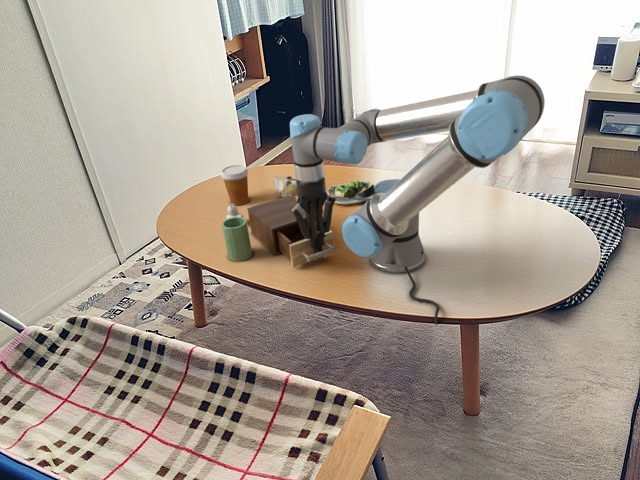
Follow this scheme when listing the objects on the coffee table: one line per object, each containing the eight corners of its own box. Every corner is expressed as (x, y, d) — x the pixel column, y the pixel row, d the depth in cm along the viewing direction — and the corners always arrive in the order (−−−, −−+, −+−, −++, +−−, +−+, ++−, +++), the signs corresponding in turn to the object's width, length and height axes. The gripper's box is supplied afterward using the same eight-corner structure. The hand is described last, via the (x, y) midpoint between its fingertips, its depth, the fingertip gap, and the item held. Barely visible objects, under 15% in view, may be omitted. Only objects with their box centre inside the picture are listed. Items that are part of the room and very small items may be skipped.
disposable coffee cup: (258, 198, 202) (253, 166, 195) (241, 209, 196) (235, 176, 189) (237, 194, 207) (232, 162, 200) (221, 204, 201) (214, 172, 193)
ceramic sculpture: (283, 166, 201) (317, 176, 194) (285, 188, 206) (318, 198, 199) (264, 177, 194) (298, 188, 187) (266, 200, 200) (300, 211, 193)
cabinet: (318, 240, 173) (315, 214, 168) (275, 255, 168) (271, 229, 163) (292, 219, 186) (289, 195, 181) (251, 233, 181) (247, 208, 176)
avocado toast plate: (325, 212, 188) (324, 199, 186) (317, 191, 203) (316, 179, 200) (381, 203, 190) (381, 191, 187) (369, 183, 204) (369, 171, 202)
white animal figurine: (232, 219, 190) (228, 197, 186) (249, 222, 188) (245, 200, 183) (223, 226, 187) (219, 204, 182) (240, 229, 184) (235, 207, 179)
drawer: (344, 260, 160) (343, 239, 156) (303, 276, 156) (300, 254, 152) (307, 231, 177) (305, 211, 173) (268, 244, 172) (265, 224, 168)
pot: (255, 256, 169) (250, 223, 162) (233, 263, 166) (227, 230, 160) (246, 246, 174) (240, 214, 168) (225, 254, 172) (218, 221, 165)
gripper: (325, 167, 150) (331, 244, 164) (281, 180, 145) (292, 258, 159) (339, 175, 144) (345, 254, 158) (294, 189, 140) (304, 269, 154)
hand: (318, 256), depth 159 cm, fingers closed
